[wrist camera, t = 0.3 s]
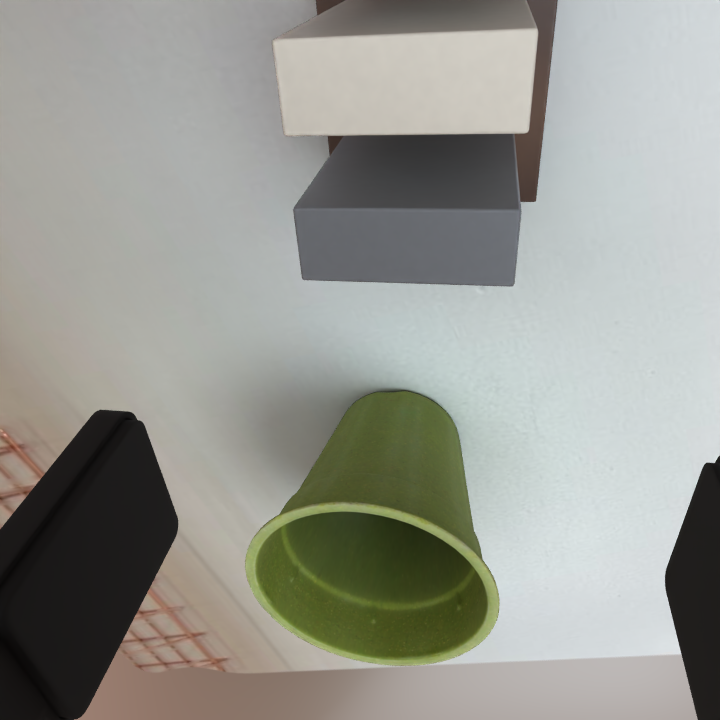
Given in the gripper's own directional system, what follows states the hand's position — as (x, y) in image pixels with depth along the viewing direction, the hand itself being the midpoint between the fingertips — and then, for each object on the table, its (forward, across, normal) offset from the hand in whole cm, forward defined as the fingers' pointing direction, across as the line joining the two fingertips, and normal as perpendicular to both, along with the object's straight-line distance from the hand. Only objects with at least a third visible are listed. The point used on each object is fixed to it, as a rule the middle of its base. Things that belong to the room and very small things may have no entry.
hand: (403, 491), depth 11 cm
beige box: (+19, +1, -4) cm, 20 cm away
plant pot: (+20, +3, +17) cm, 27 cm away
